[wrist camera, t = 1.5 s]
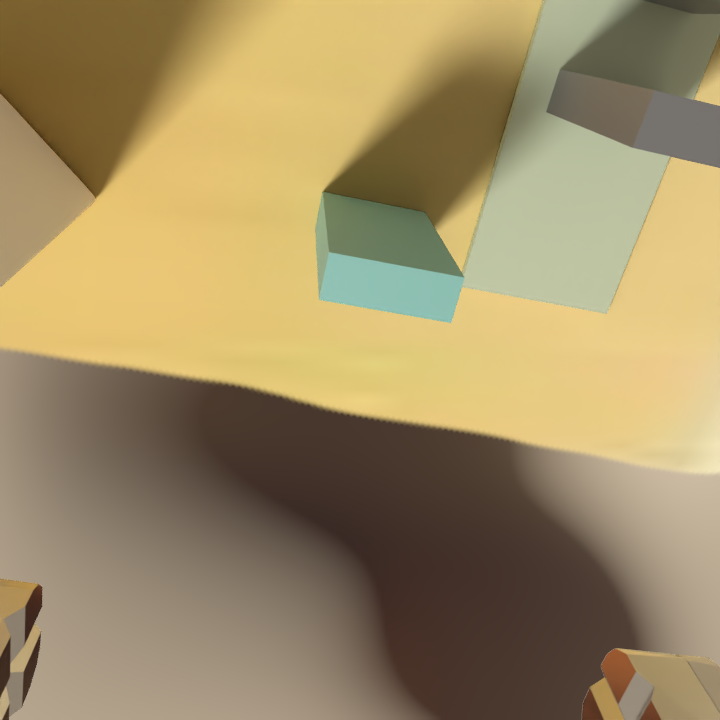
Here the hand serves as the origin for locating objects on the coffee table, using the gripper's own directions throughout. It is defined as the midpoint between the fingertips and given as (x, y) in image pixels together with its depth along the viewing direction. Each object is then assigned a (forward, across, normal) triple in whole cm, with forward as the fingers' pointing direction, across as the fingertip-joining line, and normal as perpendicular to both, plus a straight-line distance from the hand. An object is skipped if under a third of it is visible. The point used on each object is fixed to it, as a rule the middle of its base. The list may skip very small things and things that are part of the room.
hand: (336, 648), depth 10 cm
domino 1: (+22, -2, -1) cm, 22 cm away
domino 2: (+21, -10, -8) cm, 24 cm away
